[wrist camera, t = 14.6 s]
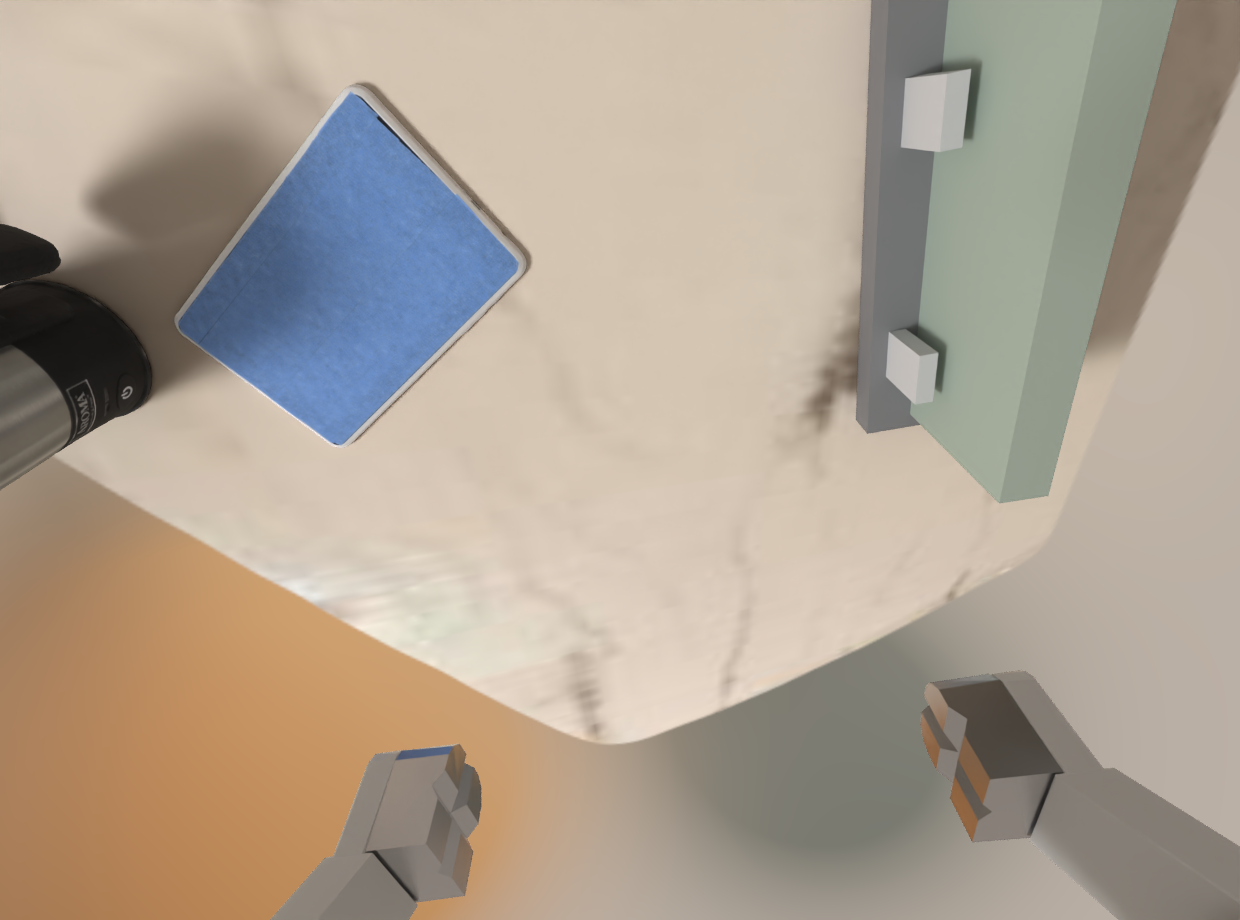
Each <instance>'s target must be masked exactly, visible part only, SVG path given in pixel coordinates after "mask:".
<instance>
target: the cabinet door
mask: <svg viewBox="0 0 1240 920" xmlns="http://www.w3.org/2000/svg"><path fill="white" fill-rule="evenodd" d="M1176 2H1177V0H949V1H948V12H947V22H946V33H945V44H944V55H943V65H942V72H947V71H956V70H965V69H971V76H970V85H969V93H968V102H967V111H966V119H965V128H964V136H963V145H962V148H958V149H953V150H948V151H943V152H934V162H933V173H932V184H931V194H930V205H929V216H928V227H927V237H926V248H925V259H924V270H923V280H922V291H921V302H920V312H919V323H918V334H917V337H918V338H919V339H920V340H922V341H923V342H924V343H926V344H927V345H928V346H930V347H931V348H933V349H934V350H935V351H937V352H938V361H937V370H936V379H935V387H934V396H933V402H928V403H922V404H916V405H915V404H914V403H913V402H912V401H911V409H910V414H911V416H912V417H913V418H914V419H915V420H916V421H917V422H918V423H919V424H920V425H921V426H922V427H923V428H924V429H925V430H926V431H927V432H928V433H929V434H930V435H931V436H932V437H933V438H934V439H935V440H936V441H937V442H938V443H939V444H940V445H941V446H942V447H943V448H944V449H945V450H946V451H947V452H948V453H949V454H950V455H951V456H952V457H953V458H954V459H955V460H956V461H957V462H958V463H959V464H960V465H961V466H962V467H963V468H964V469H965V470H966V471H967V472H968V473H969V474H970V475H971V476H972V477H973V478H974V479H975V480H976V481H977V482H978V483H979V484H980V485H981V486H982V487H983V488H984V489H985V490H986V491H987V492H988V493H989V494H990V495H991V496H992V497H993V498H994V499H995V500H996V501H997V502H998V503H1005V502H1011V501H1018V500H1024V499H1031V498H1037V497H1044V496H1048V495H1049V491H1050V487H1051V483H1052V479H1053V476H1054V472H1055V468H1056V464H1057V460H1058V456H1059V452H1060V449H1061V445H1062V441H1063V437H1064V433H1065V429H1066V426H1067V422H1068V418H1069V414H1070V410H1071V406H1072V402H1073V399H1074V395H1075V391H1076V387H1077V383H1078V379H1079V376H1080V372H1081V368H1082V364H1083V360H1084V356H1085V352H1086V349H1087V345H1088V341H1089V337H1090V333H1091V329H1092V326H1093V322H1094V318H1095V314H1096V310H1097V306H1098V302H1099V299H1100V295H1101V291H1102V287H1103V283H1104V279H1105V276H1106V272H1107V268H1108V264H1109V260H1110V256H1111V252H1112V249H1113V245H1114V241H1115V237H1116V233H1117V229H1118V226H1119V222H1120V218H1121V214H1122V210H1123V206H1124V202H1125V199H1126V195H1127V191H1128V187H1129V183H1130V179H1131V176H1132V172H1133V168H1134V164H1135V160H1136V156H1137V152H1138V149H1139V145H1140V141H1141V137H1142V133H1143V129H1144V126H1145V122H1146V118H1147V114H1148V110H1149V106H1150V102H1151V99H1152V95H1153V91H1154V87H1155V83H1156V79H1157V76H1158V72H1159V68H1160V64H1161V60H1162V56H1163V52H1164V49H1165V45H1166V41H1167V37H1168V33H1169V29H1170V26H1171V22H1172V18H1173V14H1174V10H1175V6H1176Z"/></svg>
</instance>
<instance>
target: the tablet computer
mask: <svg viewBox="0 0 1240 920" xmlns="http://www.w3.org/2000/svg"><path fill="white" fill-rule="evenodd" d="M526 267H527V262H526V259H525V257H524V255H523V253H522V252H521V251H520V250H519V249H518V247H517V246H516V245H515V244H514V243H513V242H512V241H511V240H510V239H509V238H508V237H506V236H505V235H504V234H503V233H502V232H501V230H500V228H499V227H498V226H497V225H496V224H495V223H494V222H493V221H492V220H491V219H490V218H489V217H488V216H487V215H486V213H485V212H484V211H483V210H482V209H481V208H480V207H479V206H478V205H477V204H476V203H475V202H474V201H473V200H472V199H471V198H470V197H469V196H468V195H467V193H466V192H465V191H464V190H463V189H462V188H461V187H460V186H459V185H458V184H457V183H456V182H455V181H454V180H453V178H452V177H451V176H450V175H449V174H448V173H447V172H446V171H445V170H444V169H443V168H442V167H441V166H440V165H439V164H438V162H437V161H436V160H435V159H434V158H433V157H432V156H431V155H430V154H429V153H428V152H427V151H426V150H425V149H424V148H423V146H422V145H421V144H420V143H419V142H418V141H417V140H416V139H415V138H414V137H413V136H412V135H411V134H410V133H409V132H408V130H407V129H406V128H405V127H404V126H403V125H402V124H401V123H400V122H399V121H398V120H397V118H396V117H395V116H394V115H393V114H392V113H391V112H390V111H389V110H388V109H387V108H386V107H385V106H384V105H383V103H382V102H381V101H380V100H379V99H378V98H377V97H376V96H375V95H374V94H373V93H372V92H371V91H370V90H369V89H368V88H366V87H364V86H362V85H359V84H353V85H350V86H348V87H347V88H345V89H344V90H343V91H342V92H341V94H340V95H339V96H338V97H337V99H336V100H335V101H334V103H333V104H332V106H331V107H330V108H329V110H328V111H327V112H326V114H325V115H324V116H323V117H322V119H321V120H320V121H319V123H318V124H317V125H316V127H315V128H314V129H313V131H312V132H311V133H310V135H309V136H308V138H307V139H306V140H305V142H304V143H303V144H302V146H301V147H300V148H299V150H298V151H297V152H296V154H295V155H294V157H293V158H292V159H291V161H290V162H289V163H288V164H287V166H286V167H285V168H284V170H283V171H282V172H281V174H280V175H279V176H278V178H277V179H276V180H275V182H274V183H273V184H272V186H271V187H270V188H269V190H268V191H267V192H266V194H265V195H264V196H263V198H262V199H261V200H260V202H259V203H258V204H257V206H256V207H255V208H254V210H253V211H252V212H251V214H250V215H249V216H248V218H247V219H246V221H245V222H244V223H243V225H242V226H241V227H240V229H239V230H238V231H237V233H236V234H235V235H234V237H233V238H232V239H231V241H230V242H229V243H228V245H227V246H226V247H225V249H224V250H223V251H222V253H221V254H220V255H219V257H218V258H217V260H216V261H215V262H214V264H213V265H212V266H211V268H210V269H209V271H208V272H207V273H206V275H205V276H204V277H203V279H202V280H201V282H200V283H199V284H198V286H197V287H196V289H195V290H194V291H193V293H192V294H191V295H190V297H189V298H188V299H187V301H186V302H185V304H184V305H183V306H182V308H181V309H180V311H179V312H178V313H177V314H176V316H175V319H174V322H175V326H176V328H177V330H178V331H179V333H180V334H181V335H183V336H184V337H185V338H186V339H188V340H189V341H190V342H192V343H193V344H195V345H196V346H198V347H199V348H200V349H201V350H203V351H204V352H205V353H207V354H208V355H210V356H211V357H212V358H214V359H215V360H216V361H218V362H219V363H220V364H222V365H223V366H224V367H226V368H227V369H229V370H230V371H231V372H233V373H234V374H235V375H237V376H238V377H240V378H241V379H242V380H243V381H245V382H246V383H248V384H249V385H250V386H252V387H253V388H255V389H256V390H257V391H259V392H260V393H261V394H263V395H264V396H265V397H267V398H268V399H269V400H271V401H272V402H273V403H275V404H276V405H277V406H279V407H280V408H282V409H283V410H284V411H286V412H287V413H288V414H290V415H291V416H292V417H294V418H295V419H296V420H298V421H299V422H300V423H302V424H303V425H305V426H306V427H307V428H309V429H310V430H311V431H313V432H314V433H315V434H317V435H318V436H319V437H321V438H322V439H323V440H325V441H326V442H328V443H329V444H330V445H332V446H335V447H338V448H343V447H346V446H349V445H350V444H351V443H353V442H354V441H355V440H356V439H357V438H358V437H359V436H360V435H361V434H362V433H363V432H364V431H365V430H366V429H367V428H368V427H369V426H370V425H371V424H372V423H373V422H374V421H375V420H376V419H377V418H378V417H379V416H380V415H381V414H382V413H383V412H384V411H385V410H386V409H387V408H388V407H389V406H390V405H391V404H392V403H393V402H394V401H395V400H397V399H398V398H399V397H400V396H401V395H402V394H403V393H404V392H405V391H406V390H407V389H408V388H409V387H410V386H411V385H412V384H413V383H414V382H415V381H416V380H417V379H418V378H419V377H420V376H421V375H422V374H423V373H424V372H425V371H426V370H427V369H428V368H429V367H430V366H431V365H432V364H433V363H434V362H435V361H436V360H437V359H438V358H439V357H440V356H441V355H442V354H443V353H444V352H445V351H446V350H447V349H448V348H449V347H450V346H451V345H452V344H453V343H454V342H455V341H456V340H457V339H458V338H459V337H461V336H462V335H463V334H464V333H466V332H467V331H468V330H469V329H470V328H471V327H472V325H473V324H474V323H475V322H476V321H478V320H479V319H480V318H481V317H482V316H483V315H484V314H485V313H486V311H487V310H488V309H489V308H490V307H491V306H492V305H493V304H495V303H496V302H497V301H498V300H499V299H500V298H501V297H502V295H503V294H504V293H505V292H506V291H507V290H508V289H509V288H510V287H511V286H512V285H513V284H514V283H515V282H516V281H517V280H518V279H519V278H520V277H521V276H522V275H523V273H524V272H525V270H526Z"/></svg>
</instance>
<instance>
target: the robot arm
mask: <svg viewBox="0 0 1240 920" xmlns="http://www.w3.org/2000/svg"><path fill="white" fill-rule="evenodd" d="M924 696H925V698H926V700H927V702H928V704H929V706H928V707H927V708H926V709H924V710H923V711H922V713H921V724H920V725H921V730H922V736H923V741H924V743H925V746H926V749H927V752H928V754H929V756H930V758H931V761H932V762H933V764H934V767H935V769H936V770H937V771H938V772H939V773H941V774H942V775H943V776H945V777H946V778H947V779H948V780H950V781H951V782H952V783H953V785H952V790H951V796H950V799H951V801H952V803H953V805H954V807H955V809H956V811H957V813H958V815H959V817H960V819H961V821H962V823H963V825H964V827H965V828H966V831H967V833H968V834H969V837H970V839H971V841H972V842H980V841H993V840H1006V839H1020V838H1030V842H1031V843H1032V844H1034V845H1035V846H1036V847H1037V848H1038V849H1039V850H1040V851H1041V852H1042V853H1044V854H1045V855H1046V856H1047V857H1048V858H1049V859H1050V860H1052V861H1053V862H1054V863H1055V864H1056V865H1057V866H1058V867H1059V868H1060V869H1062V870H1063V871H1064V872H1065V873H1066V874H1067V875H1068V876H1070V877H1071V878H1072V879H1073V880H1074V881H1075V882H1076V883H1077V884H1079V885H1080V886H1081V887H1082V888H1083V889H1084V890H1085V891H1086V892H1088V893H1089V894H1090V895H1091V896H1092V897H1093V898H1095V899H1096V900H1097V901H1098V902H1099V903H1100V904H1101V905H1102V906H1103V907H1105V908H1106V909H1107V910H1108V911H1109V912H1110V913H1111V914H1112V915H1114V916H1115V917H1116V918H1117V919H1118V920H1240V846H1238V845H1237V844H1235V843H1233V842H1232V841H1230V840H1229V839H1227V838H1225V837H1223V836H1222V835H1221V834H1219V833H1217V832H1216V831H1214V830H1213V829H1211V828H1209V827H1208V826H1206V825H1204V824H1203V823H1201V822H1200V821H1198V820H1196V819H1195V818H1193V817H1192V816H1190V815H1188V814H1187V813H1185V812H1184V811H1182V810H1181V809H1179V808H1177V807H1176V806H1174V805H1173V804H1171V803H1169V802H1168V801H1166V800H1165V799H1163V798H1161V797H1160V796H1158V795H1157V794H1155V793H1153V792H1151V791H1150V790H1149V789H1147V788H1145V787H1144V786H1142V785H1141V784H1139V783H1137V782H1136V781H1134V780H1133V779H1131V778H1129V777H1128V776H1126V775H1124V774H1123V773H1121V772H1120V771H1118V770H1117V769H1115V768H1106V769H1104V768H1103V767H1102V766H1101V765H1100V763H1099V762H1098V761H1097V759H1096V758H1095V757H1094V755H1093V754H1092V753H1091V752H1090V750H1089V749H1088V747H1087V746H1086V745H1085V744H1084V743H1083V741H1082V740H1081V738H1080V737H1079V736H1078V734H1077V733H1076V732H1075V730H1074V729H1073V728H1072V727H1071V725H1070V724H1069V723H1068V721H1067V720H1066V719H1065V717H1064V716H1063V715H1062V713H1061V712H1060V711H1059V709H1058V708H1057V707H1056V706H1055V704H1054V703H1053V702H1052V700H1051V699H1050V698H1049V696H1048V695H1047V694H1046V693H1045V691H1044V690H1043V689H1042V687H1041V686H1040V685H1039V683H1038V682H1037V681H1036V679H1035V678H1034V677H1033V676H1032V675H1030V674H1029V673H1028V672H1026V671H1020V670H1018V671H1011V672H1004V673H997V674H985V675H978V676H971V677H964V678H957V679H951V680H944V681H937V682H930V683H929V684H928V685H927V686H926V688H925V694H924ZM465 757H466V753H465V751H464V750H463V748H462V747H461V745H460V744H453V745H445V746H437V747H429V748H422V749H413V750H401V751H394V752H386V753H380V754H375V755H374V757H373V758H372V759H371V761H370V762H369V764H368V765H367V767H366V770H365V773H364V776H363V778H362V781H361V783H360V786H359V789H358V792H357V794H356V797H355V799H354V802H353V805H352V807H351V810H350V813H349V815H348V818H347V821H346V824H345V826H344V829H343V832H342V834H341V837H340V840H339V843H338V845H337V848H336V850H335V853H334V856H333V857H327V858H324V859H323V861H322V862H321V863H320V864H319V865H318V866H317V867H316V868H315V870H314V871H313V872H312V873H311V874H310V875H309V876H308V878H307V879H306V880H305V881H304V882H303V883H302V884H301V885H300V887H299V888H298V889H297V890H296V891H295V892H294V893H293V894H292V896H291V897H290V898H289V899H288V900H287V901H286V902H285V904H284V905H283V906H282V907H281V908H280V909H279V911H277V913H276V914H275V915H274V916H273V917H272V918H271V919H270V920H409V919H410V917H411V915H412V914H413V912H414V911H415V909H416V908H417V904H416V902H423V901H431V900H437V899H445V898H452V897H459V896H465V893H466V887H467V882H468V877H469V871H470V866H471V860H472V855H473V850H472V848H471V846H470V843H469V841H468V839H467V838H468V837H469V835H470V834H471V833H472V831H473V830H474V829H475V827H476V826H477V825H478V822H479V816H480V810H481V785H480V780H479V776H478V774H477V772H476V770H475V768H474V767H471V766H470V765H468V764H465V763H464V762H465Z"/></svg>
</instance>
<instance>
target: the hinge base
mask: <svg viewBox="0 0 1240 920" xmlns="http://www.w3.org/2000/svg"><path fill="white" fill-rule="evenodd" d="M948 1H949V0H872V4H871V31H870V58H869V85H868V112H867V139H866V166H865V193H864V220H863V247H862V274H861V301H860V328H859V355H858V382H857V409H856V420H857V421H858V423H859V424H860V425H861V426H862V428H863V429H864V430H865V431H866V433H867V434H868V433H874V432H880V431H886V430H892V429H897V428H903V427H909V426H915V425H920V424H919V423H918V422H917V421H916V420H915V419H914V418H913V417H912V416H911V414H910V409H911V401H912V402H913V403H914V404H915V405H916V404H922V403H928V402H933V396H934V387H935V379H936V370H937V361H938V352H937V351H935V350H934V349H933V348H931V347H930V346H928V345H927V344H926V343H924V342H923V341H922V340H920V339H919V338H918V337H917V334H918V323H919V312H920V302H921V291H922V280H923V270H924V259H925V248H926V237H927V227H928V216H929V205H930V194H931V184H932V173H933V162H934V152H943V151H948V150H953V149H958V148H962V145H963V136H964V128H965V119H966V111H967V102H968V93H969V85H970V76H971V69H965V70H956V71H947V72H942V65H943V55H944V44H945V33H946V22H947V12H948Z"/></svg>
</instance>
